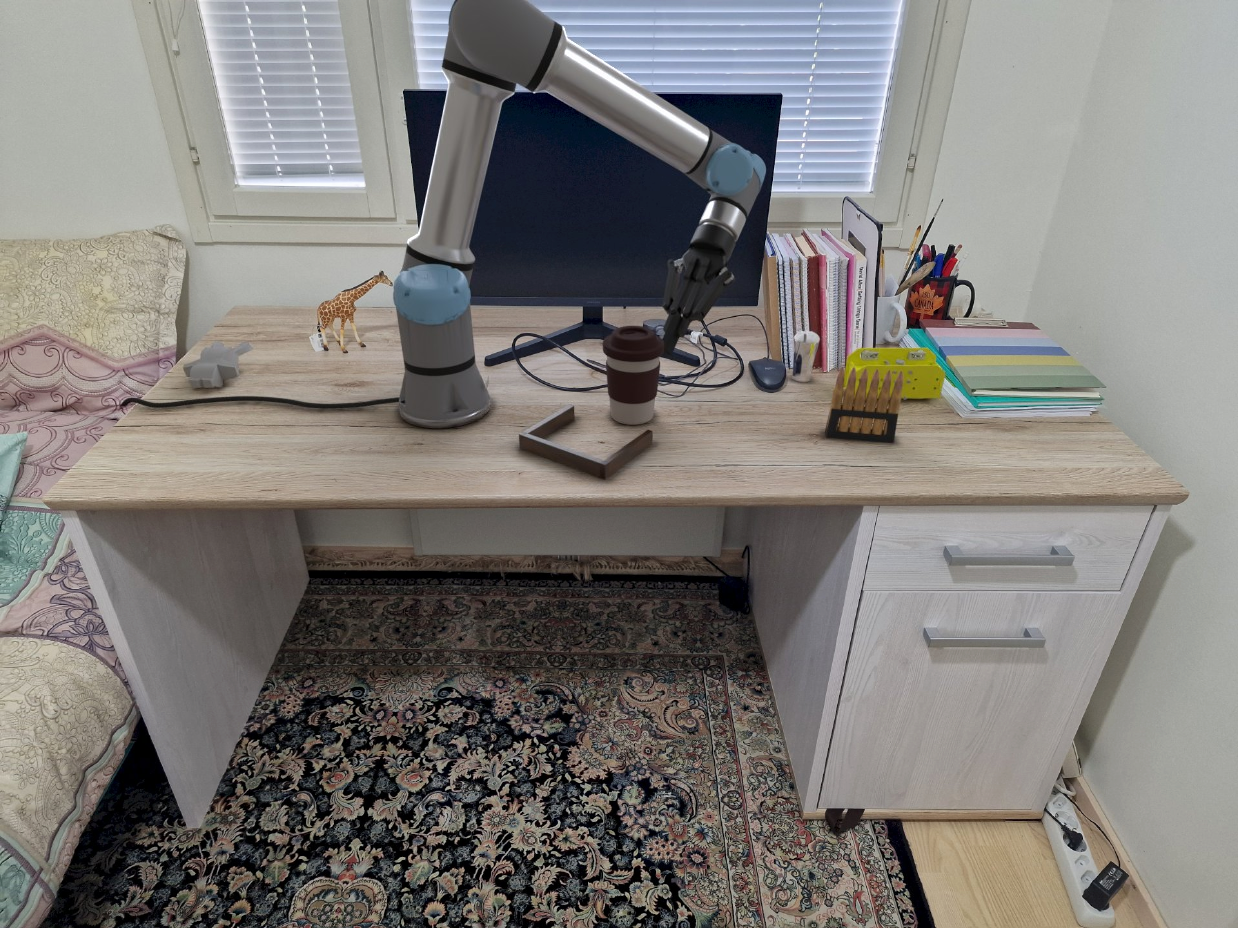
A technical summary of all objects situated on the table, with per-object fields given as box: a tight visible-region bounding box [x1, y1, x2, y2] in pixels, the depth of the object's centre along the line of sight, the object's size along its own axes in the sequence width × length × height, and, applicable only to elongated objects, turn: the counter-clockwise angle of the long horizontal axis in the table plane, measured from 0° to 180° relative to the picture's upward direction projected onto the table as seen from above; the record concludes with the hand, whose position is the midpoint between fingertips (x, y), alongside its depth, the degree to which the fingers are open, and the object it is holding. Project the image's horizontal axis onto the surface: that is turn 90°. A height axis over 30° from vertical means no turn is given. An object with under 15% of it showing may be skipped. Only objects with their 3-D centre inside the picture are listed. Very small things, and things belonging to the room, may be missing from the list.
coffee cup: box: [602, 325, 664, 426], centre depth 125 cm, size 10×10×15 cm
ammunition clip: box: [824, 366, 903, 444], centre depth 120 cm, size 11×2×12 cm, turn 80°
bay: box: [518, 404, 654, 480], centre depth 119 cm, size 13×16×2 cm
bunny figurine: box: [182, 341, 254, 389], centre depth 141 cm, size 10×5×15 cm
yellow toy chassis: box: [843, 347, 946, 401], centre depth 135 cm, size 16×6×8 cm, turn 91°
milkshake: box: [792, 330, 821, 383], centre depth 140 cm, size 5×5×10 cm
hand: (665, 350), depth 132 cm, fingers closed
